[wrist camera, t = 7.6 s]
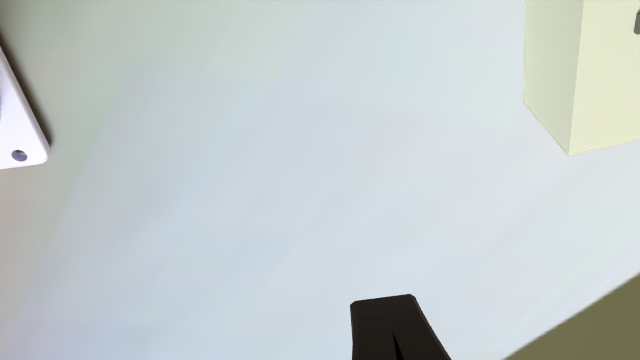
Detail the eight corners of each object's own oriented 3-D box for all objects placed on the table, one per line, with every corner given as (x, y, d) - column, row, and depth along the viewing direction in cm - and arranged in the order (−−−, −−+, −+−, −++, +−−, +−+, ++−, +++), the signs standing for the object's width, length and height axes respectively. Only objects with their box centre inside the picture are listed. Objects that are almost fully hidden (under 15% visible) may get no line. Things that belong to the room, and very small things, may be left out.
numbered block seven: (520, 99, 21) (571, 160, 18) (524, -53, 17) (589, -12, 14) (668, 62, 21) (747, 117, 18) (704, -100, 17) (813, -70, 14)
